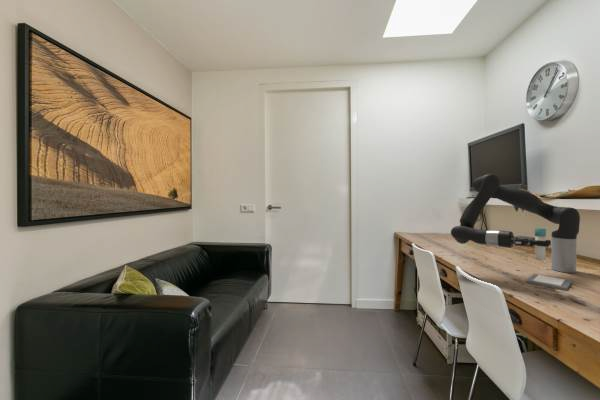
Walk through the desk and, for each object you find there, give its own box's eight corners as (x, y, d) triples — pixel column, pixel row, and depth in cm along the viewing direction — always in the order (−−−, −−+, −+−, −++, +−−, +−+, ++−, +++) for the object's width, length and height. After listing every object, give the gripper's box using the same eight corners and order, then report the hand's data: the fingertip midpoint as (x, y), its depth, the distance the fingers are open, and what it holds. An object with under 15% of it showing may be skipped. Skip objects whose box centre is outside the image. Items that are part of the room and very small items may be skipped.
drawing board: (534, 275, 129) (534, 273, 129) (572, 282, 118) (572, 279, 118) (526, 282, 119) (526, 279, 119) (566, 290, 108) (566, 287, 108)
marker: (535, 257, 113) (535, 227, 113) (546, 259, 111) (546, 228, 110) (533, 259, 111) (533, 228, 111) (544, 260, 109) (545, 229, 108)
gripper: (494, 232, 118) (546, 236, 104) (503, 229, 126) (553, 232, 113) (494, 248, 118) (546, 255, 104) (503, 244, 127) (553, 250, 113)
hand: (549, 243), depth 109 cm, fingers closed on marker, 3 cm apart
